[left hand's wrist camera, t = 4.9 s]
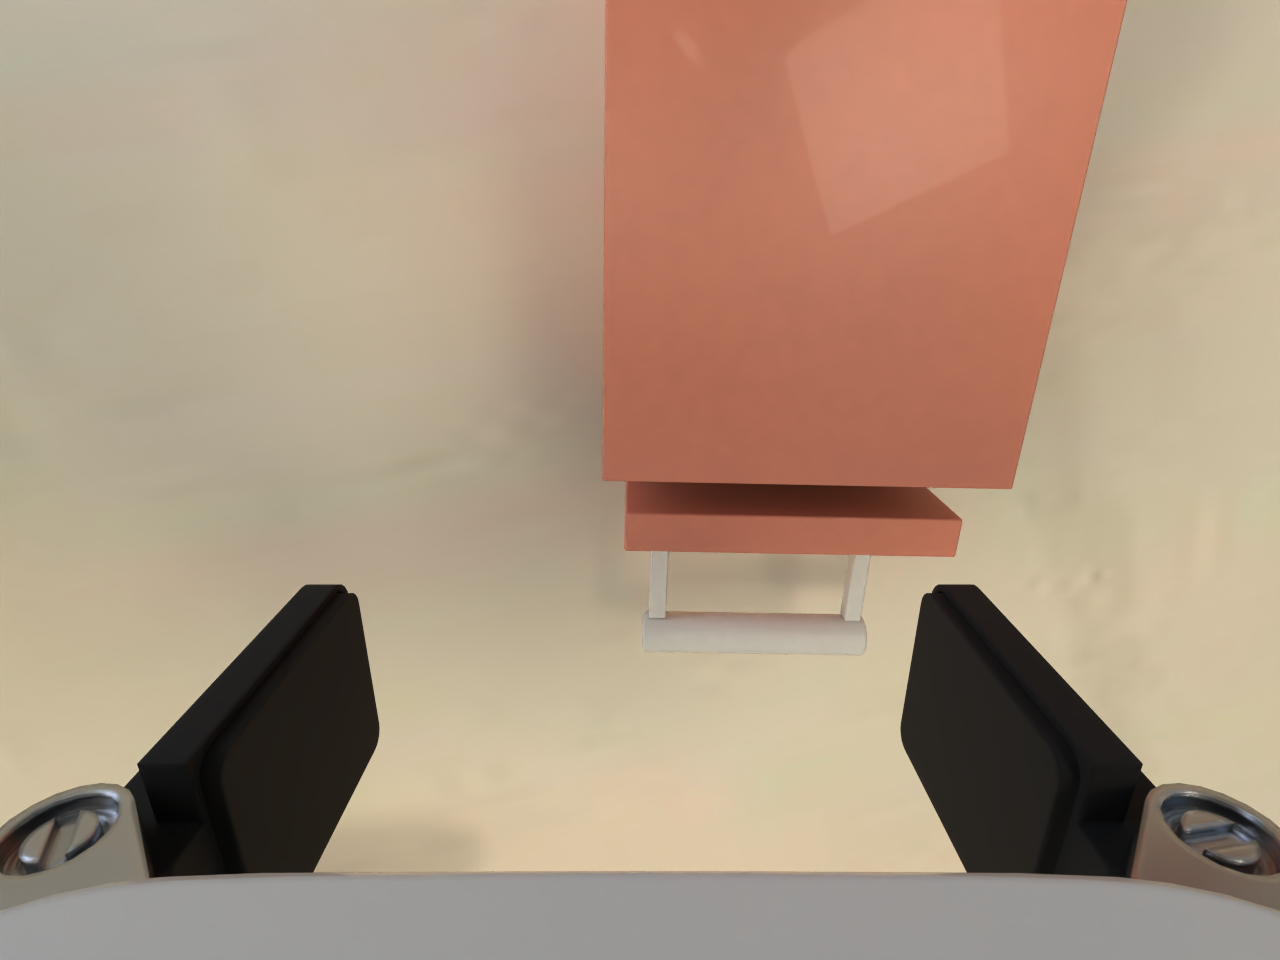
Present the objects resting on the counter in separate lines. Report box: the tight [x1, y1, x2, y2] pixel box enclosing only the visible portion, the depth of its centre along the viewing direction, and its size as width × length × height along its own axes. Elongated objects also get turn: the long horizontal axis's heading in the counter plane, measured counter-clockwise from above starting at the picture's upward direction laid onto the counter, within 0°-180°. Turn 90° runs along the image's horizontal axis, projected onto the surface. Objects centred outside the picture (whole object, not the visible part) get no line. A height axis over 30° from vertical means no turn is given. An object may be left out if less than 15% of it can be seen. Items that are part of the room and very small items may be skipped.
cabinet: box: [602, 0, 1127, 489], centre depth 19 cm, size 20×11×10 cm, turn 179°
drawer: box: [624, 481, 962, 655], centre depth 21 cm, size 25×10×8 cm, turn 179°
